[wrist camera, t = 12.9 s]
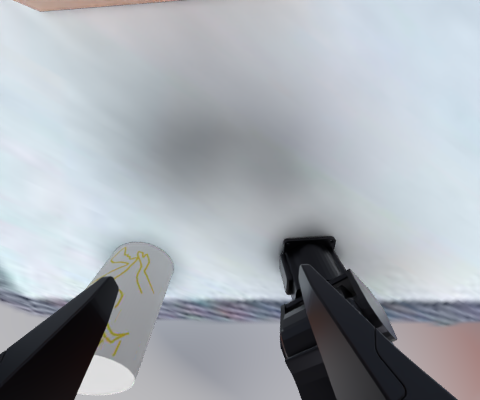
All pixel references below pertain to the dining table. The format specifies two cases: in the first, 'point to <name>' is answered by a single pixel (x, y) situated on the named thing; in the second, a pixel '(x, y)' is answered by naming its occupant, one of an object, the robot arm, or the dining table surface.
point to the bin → (79, 3)
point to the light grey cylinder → (128, 316)
